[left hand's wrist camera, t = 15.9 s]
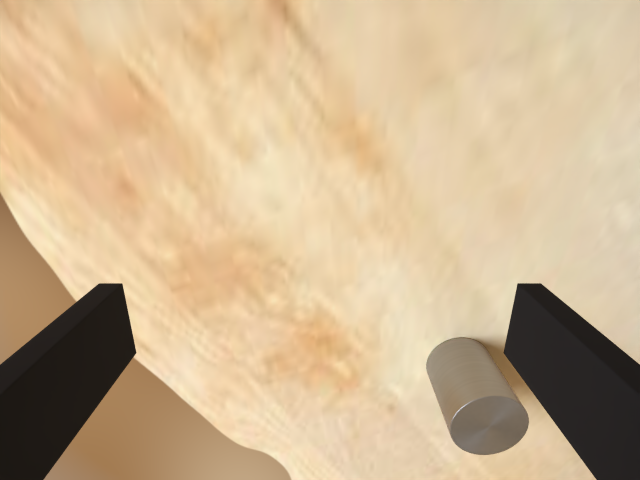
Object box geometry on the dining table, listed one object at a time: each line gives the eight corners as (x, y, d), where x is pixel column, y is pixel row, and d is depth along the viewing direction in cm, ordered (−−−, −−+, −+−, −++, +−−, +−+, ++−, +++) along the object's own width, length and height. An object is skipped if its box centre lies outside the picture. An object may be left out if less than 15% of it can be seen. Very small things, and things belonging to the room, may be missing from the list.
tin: (413, 373, 47) (434, 437, 38) (450, 327, 44) (481, 384, 36) (464, 397, 48) (496, 465, 39) (502, 353, 46) (545, 415, 37)
